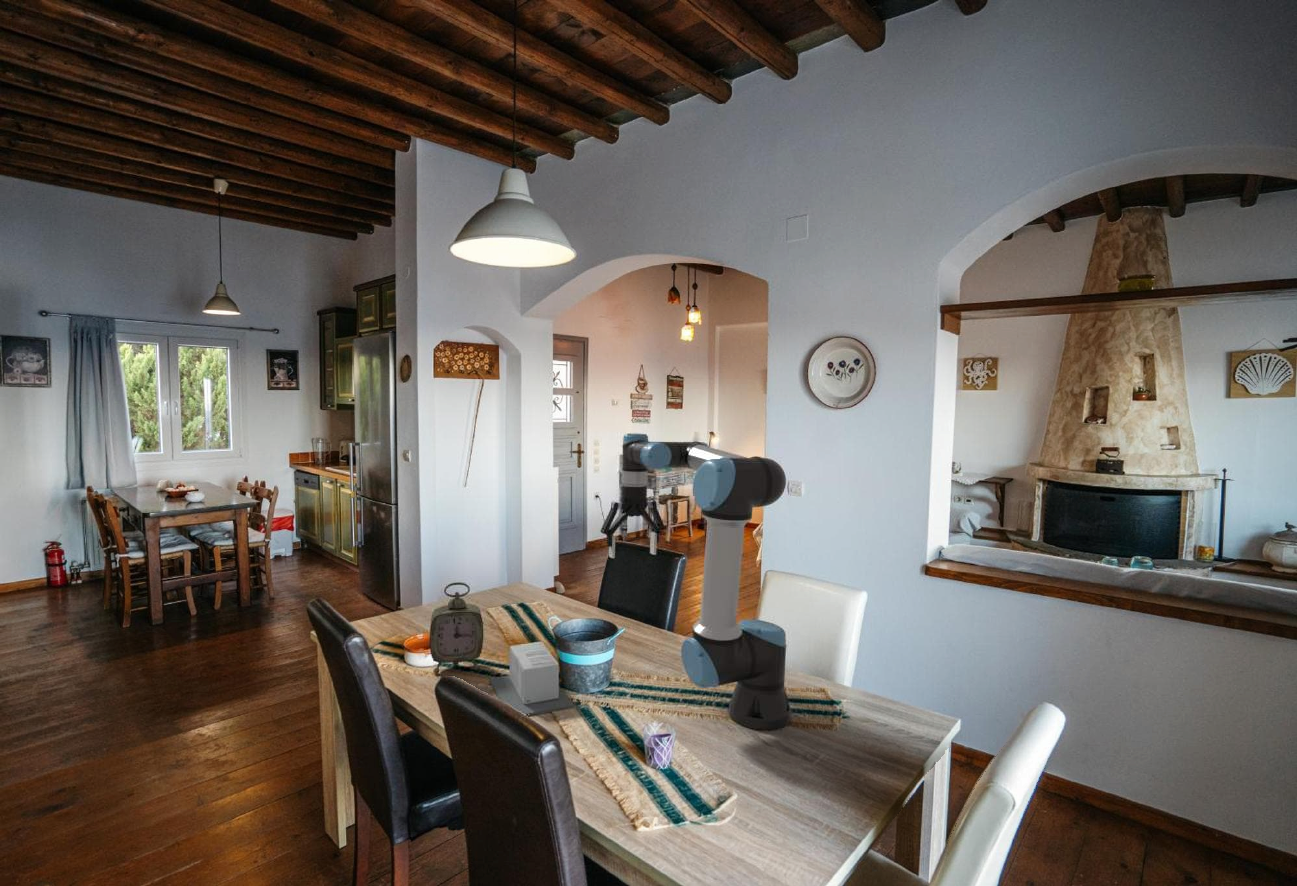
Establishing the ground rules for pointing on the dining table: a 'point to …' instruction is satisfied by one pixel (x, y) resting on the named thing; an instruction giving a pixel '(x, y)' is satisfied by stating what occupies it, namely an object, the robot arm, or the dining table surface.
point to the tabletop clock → (456, 631)
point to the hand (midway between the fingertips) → (632, 555)
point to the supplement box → (534, 672)
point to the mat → (511, 696)
